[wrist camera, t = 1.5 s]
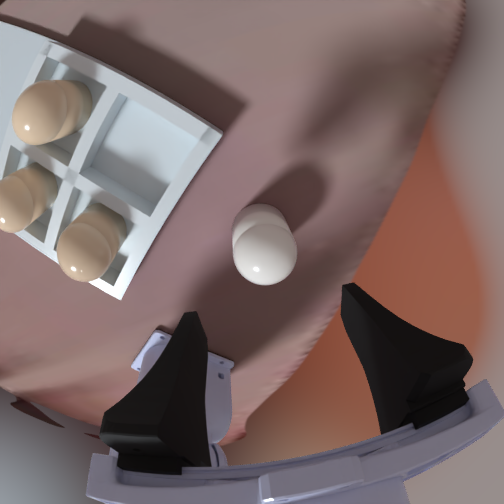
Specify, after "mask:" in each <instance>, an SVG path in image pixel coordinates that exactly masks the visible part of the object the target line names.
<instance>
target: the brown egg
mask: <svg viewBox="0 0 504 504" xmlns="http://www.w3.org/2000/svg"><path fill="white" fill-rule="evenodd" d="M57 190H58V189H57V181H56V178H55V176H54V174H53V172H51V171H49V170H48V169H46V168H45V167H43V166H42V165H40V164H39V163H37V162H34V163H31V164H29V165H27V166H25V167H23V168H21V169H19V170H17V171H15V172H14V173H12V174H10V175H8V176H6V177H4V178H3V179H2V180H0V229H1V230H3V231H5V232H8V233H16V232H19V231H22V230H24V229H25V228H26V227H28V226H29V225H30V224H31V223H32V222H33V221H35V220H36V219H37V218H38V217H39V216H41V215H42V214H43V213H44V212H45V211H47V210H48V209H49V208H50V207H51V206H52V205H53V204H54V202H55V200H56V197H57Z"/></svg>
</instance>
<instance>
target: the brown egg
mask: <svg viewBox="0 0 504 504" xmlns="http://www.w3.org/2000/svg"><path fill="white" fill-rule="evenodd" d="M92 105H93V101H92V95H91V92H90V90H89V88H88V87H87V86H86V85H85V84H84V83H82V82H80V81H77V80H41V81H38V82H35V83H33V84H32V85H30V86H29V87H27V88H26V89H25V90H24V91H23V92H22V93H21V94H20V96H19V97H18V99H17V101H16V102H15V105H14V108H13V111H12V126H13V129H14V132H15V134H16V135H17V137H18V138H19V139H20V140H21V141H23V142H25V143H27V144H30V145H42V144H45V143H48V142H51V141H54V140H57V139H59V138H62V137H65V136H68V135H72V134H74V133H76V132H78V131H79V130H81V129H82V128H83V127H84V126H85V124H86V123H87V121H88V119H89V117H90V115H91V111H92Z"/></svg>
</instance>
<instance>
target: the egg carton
mask: <svg viewBox="0 0 504 504" xmlns="http://www.w3.org/2000/svg"><path fill="white" fill-rule="evenodd" d="M41 80H77V81H80V82H82V83H84V84H85V85H86V86H87V87H88V88H89V90H90V92H91V95H92V101H93V105H92V111H91V115H90V117H89V119H88V121H87V123H86V124H85V126H84V127H83V128H82V129H81V130H79V131H78V132H76V133H74V134H72V135H68V136H65V137H62V138H59V139H57V140H54V141H51V142H48V143H45V144H42V145H30V144H27V143H25V142H23V141H21V140H20V139H19V138H18V137H17V135H16V134H15V132H14V129H13V126H12V111H13V108H14V105H15V102H16V101H17V99H18V97H19V96H20V94H21V93H22V92H23V91H24V90H25V89H26V88H27V87H29V86H30V85H32V84H33V83H35V82H38V81H41ZM222 136H223V131H222V130H220V129H219V128H217V127H216V126H214V125H213V124H211V123H210V122H208V121H207V120H205V119H203V118H202V117H200V116H199V115H197V114H195V113H194V112H192V111H191V110H189V109H187V108H186V107H184V106H182V105H181V104H179V103H177V102H176V101H174V100H172V99H171V98H169V97H167V96H166V95H164V94H162V93H160V92H159V91H157V90H155V89H153V88H152V87H150V86H148V85H146V84H144V83H143V82H141V81H139V80H137V79H135V78H133V77H132V76H130V75H128V74H126V73H124V72H122V71H120V70H118V69H116V68H114V67H112V66H110V65H108V64H106V63H104V62H102V61H100V60H98V59H96V58H94V57H92V56H90V55H87V54H85V53H83V52H81V51H79V50H77V49H74V48H72V47H70V46H67V45H65V44H63V43H60V42H58V41H56V40H53V39H51V38H48V37H46V36H43V35H40V34H38V33H35V32H32V31H30V30H27V29H24V28H21V27H18V26H15V25H12V24H9V23H6V22H3V21H0V180H2V179H3V178H4V177H6V176H8V175H10V174H12V173H14V172H15V171H17V170H19V169H21V168H23V167H25V166H27V165H29V164H31V163H34V162H37V163H39V164H40V165H42V166H43V167H45V168H46V169H48V170H49V171H51V172H53V174H54V176H55V178H56V181H57V189H58V190H57V197H56V200H55V202H54V204H53V205H52V206H51V207H50V208H49V209H48V210H47V211H45V212H44V213H43V214H42V215H41V216H39V217H38V218H37V219H36V220H35V221H33V222H32V223H31V224H30V225H29V226H28V227H26V228H25V229H24V230H22V231H19V232H16V233H15V234H16V235H18V236H19V237H20V238H22V239H23V240H24V241H26V242H27V243H29V244H30V245H32V246H33V247H34V248H36V249H37V250H39V251H40V252H42V253H43V254H45V255H46V256H48V257H49V258H51V259H52V260H54V261H55V262H57V263H58V264H59V262H58V259H57V243H58V240H59V237H60V235H61V234H62V232H63V231H64V230H65V228H66V227H67V226H68V225H69V224H70V223H71V222H72V221H74V220H75V219H76V218H77V217H78V216H79V215H80V214H81V213H82V212H83V211H84V210H85V209H86V208H87V207H88V206H90V205H92V204H95V203H102V204H104V205H105V206H107V207H108V208H110V209H112V210H113V211H115V212H117V213H118V214H120V215H122V217H123V218H124V220H125V223H126V227H127V235H126V239H125V241H124V243H123V244H122V246H121V248H120V249H119V251H118V253H117V254H116V256H115V258H114V259H113V261H112V263H111V265H110V266H109V268H108V270H107V271H106V272H105V273H104V274H103V275H102V276H101V277H99V278H98V279H96V280H93V281H90V282H89V283H91V284H93V285H94V286H96V287H98V288H100V289H101V290H103V291H105V292H107V293H108V294H110V295H112V296H114V297H116V298H117V299H119V300H121V299H122V297H123V295H124V293H125V291H126V289H127V287H128V285H129V283H130V281H131V280H132V278H133V276H134V274H135V272H136V270H137V268H138V267H139V265H140V263H141V261H142V259H143V258H144V256H145V254H146V252H147V251H148V249H149V247H150V245H151V244H152V242H153V240H154V239H155V237H156V235H157V234H158V232H159V230H160V229H161V227H162V225H163V224H164V222H165V220H166V219H167V217H168V215H169V214H170V212H171V211H172V209H173V207H174V206H175V204H176V203H177V201H178V200H179V198H180V196H181V195H182V193H183V192H184V190H185V189H186V187H187V186H188V184H189V183H190V181H191V180H192V178H193V177H194V175H195V174H196V172H197V171H198V169H199V168H200V166H201V165H202V164H203V162H204V161H205V159H206V158H207V156H208V155H209V154H210V152H211V151H212V149H213V148H214V147H215V145H216V144H217V142H218V141H219V140H220V138H221V137H222Z"/></svg>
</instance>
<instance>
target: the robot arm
mask: <svg viewBox="0 0 504 504" xmlns="http://www.w3.org/2000/svg"><path fill="white" fill-rule="evenodd" d="M341 318H342V321H343V323H344V327H345V330H346V332H347V334H348V337H349V339H350V340H351V343H352V345H353V347H354V349H355V351H356V353H357V355H358V357H359V359H360V362H361V364H362V366H363V368H364V371H365V374H366V377H367V380H368V383H369V386H370V389H371V393H372V396H373V400H374V404H375V408H376V412H377V416H378V421H379V426H380V431H381V435H379V436H376V437H373V438H370V439H367V440H365V441H361V442H358V443H355V444H351V445H348V446H344V447H341V448H337V449H333V450H329V451H325V452H321V453H317V454H312V455H307V456H302V457H297V458H292V459H286V460H279V461H273V462H265V463H257V464H248V465H236V466H228V465H227V460H226V456H225V454H224V452H223V451H222V449H221V447H220V446H219V445H218V444H216V443H217V442H219V441H220V440H221V439H222V438H223V437H224V436H225V435H226V433H227V431H228V429H229V426H230V423H231V418H232V399H231V378H230V369H231V368H232V367H233V366H234V362H233V361H231V360H228V359H225V358H223V357H220V356H218V355H215V354H213V353H210V352H208V344H207V337H206V335H205V332H204V330H203V327H202V325H201V322H200V319H199V317H198V314H197V312H196V311H194V312H187V313H184V314H183V316H182V318H181V320H180V322H179V324H178V326H177V328H176V329H175V331H174V333H173V335H172V336H171V335H169V334H167V333H165V332H163V331H160V330H155V331H154V332H153V334H152V335H151V337H150V338H149V339H148V341H147V342H146V344H145V345H144V347H143V348H142V349H141V351H140V352H139V354H138V355H137V357H136V358H135V360H134V361H133V363H132V365H131V367H132V368H133V369H135V370H137V371H139V377H138V382H137V385H136V386H135V387H134V388H133V389H132V390H131V391H130V392H129V393H128V394H127V395H126V396H125V397H124V398H123V399H121V400H120V401H119V402H118V403H116V404H115V405H114V406H112V407H111V408H110V409H108V410H107V411H106V412H105V413H104V416H103V419H102V424H101V429H100V435H99V437H100V439H101V440H102V441H103V442H104V443H105V444H107V445H108V446H109V447H110V453H109V455H103V454H97V453H93V454H92V458H91V464H90V470H89V477H88V484H87V491H86V495H87V496H88V497H90V498H93V499H96V500H98V501H101V502H104V503H107V504H410V503H409V499H408V496H407V492H406V489H405V486H404V483H403V482H404V481H406V480H408V479H410V478H412V477H414V476H416V475H418V474H420V473H422V472H424V471H426V470H428V469H430V468H432V467H434V466H436V465H437V464H439V463H441V462H443V461H445V460H446V459H448V458H450V457H451V456H453V455H455V454H456V453H458V452H460V451H461V450H463V449H465V448H466V447H468V446H469V445H471V444H472V443H474V442H475V441H477V440H478V439H480V438H481V437H482V436H484V435H485V434H486V433H487V432H489V431H490V430H491V429H492V428H493V427H494V426H495V425H496V424H498V422H500V421H501V420H502V419H503V418H504V409H503V407H502V406H501V404H500V402H499V400H498V398H497V396H496V395H495V393H494V391H493V389H492V388H491V386H490V384H489V383H488V381H487V379H484V380H483V381H481V382H480V383H478V384H476V385H474V386H473V387H471V388H470V389H469V390H467V391H465V389H464V388H463V387H465V382H464V381H463V378H464V376H465V375H466V374H467V372H468V371H469V369H470V367H471V366H472V363H473V358H472V356H471V355H470V353H469V351H468V350H467V349H466V347H465V346H464V345H463V344H459V343H456V342H452V341H448V340H445V339H443V338H440V337H437V336H434V335H432V334H430V333H427V332H425V331H423V330H421V329H419V328H417V327H415V326H413V325H411V324H409V323H408V322H406V321H404V320H402V319H401V318H399V317H398V316H396V315H395V314H393V313H392V312H390V311H389V310H388V309H386V308H385V307H383V306H382V305H381V304H380V303H378V302H377V301H376V300H375V299H373V298H372V297H371V296H370V295H368V294H367V293H366V292H365V291H363V290H362V289H361V288H360V287H359V286H357V285H356V284H355V283H349V284H345V285H342V301H341ZM162 336H164V337H162Z"/></svg>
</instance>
